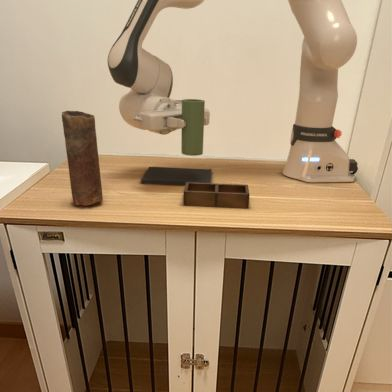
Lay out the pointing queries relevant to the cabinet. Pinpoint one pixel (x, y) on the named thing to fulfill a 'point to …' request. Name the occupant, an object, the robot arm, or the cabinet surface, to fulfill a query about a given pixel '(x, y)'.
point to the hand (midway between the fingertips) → (195, 122)
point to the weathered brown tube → (82, 157)
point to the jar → (193, 127)
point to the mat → (175, 176)
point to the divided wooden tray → (216, 195)
